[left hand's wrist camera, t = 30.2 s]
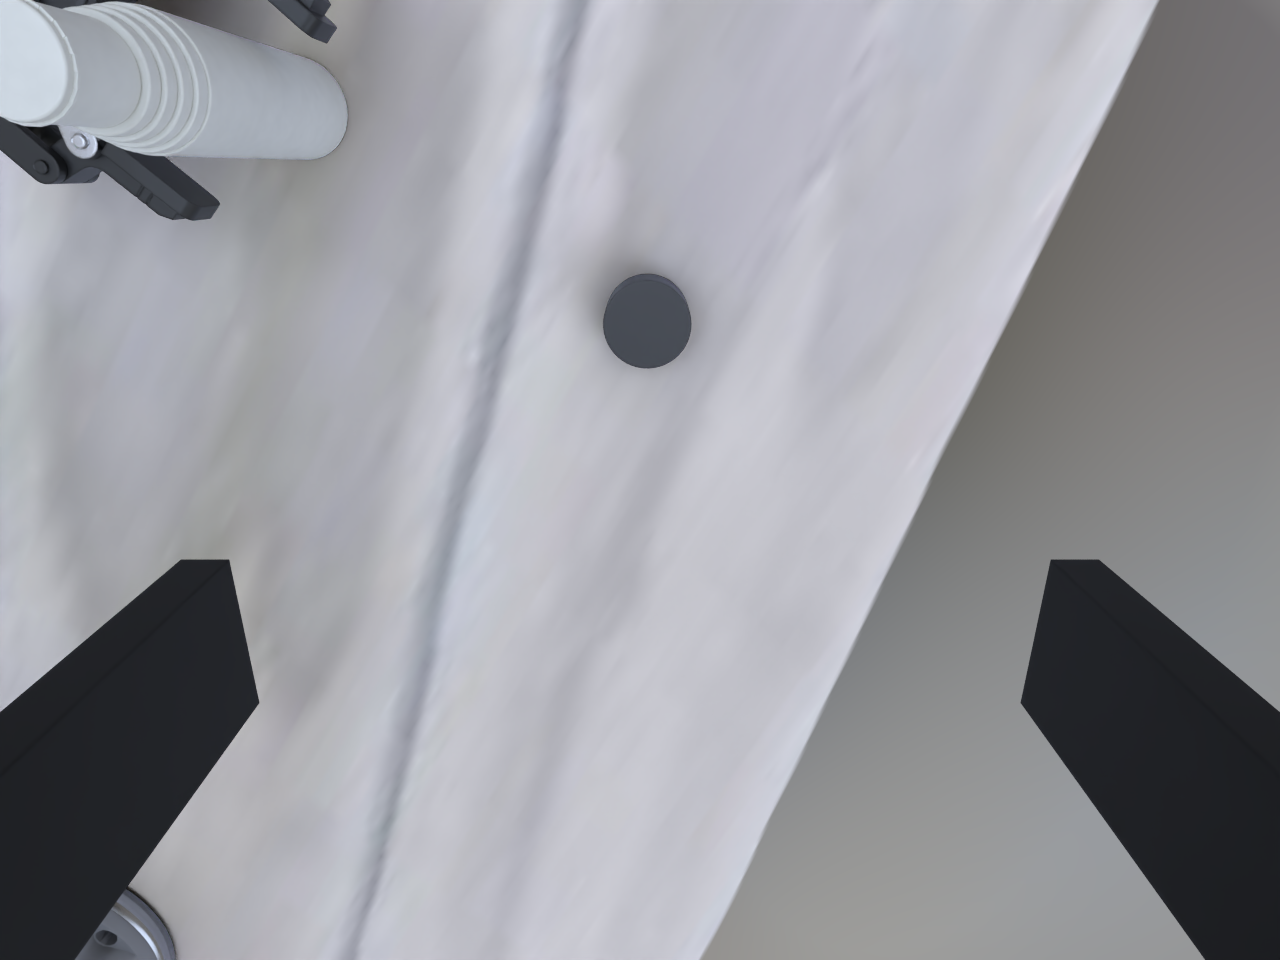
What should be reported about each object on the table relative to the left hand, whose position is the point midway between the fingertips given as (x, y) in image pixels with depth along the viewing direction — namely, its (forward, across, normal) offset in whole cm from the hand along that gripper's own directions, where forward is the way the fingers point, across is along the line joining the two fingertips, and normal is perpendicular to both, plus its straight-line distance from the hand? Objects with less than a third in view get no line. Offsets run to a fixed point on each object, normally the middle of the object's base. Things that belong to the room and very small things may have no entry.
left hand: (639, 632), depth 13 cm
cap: (+26, 0, 0) cm, 26 cm away
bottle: (+28, +15, -10) cm, 34 cm away
